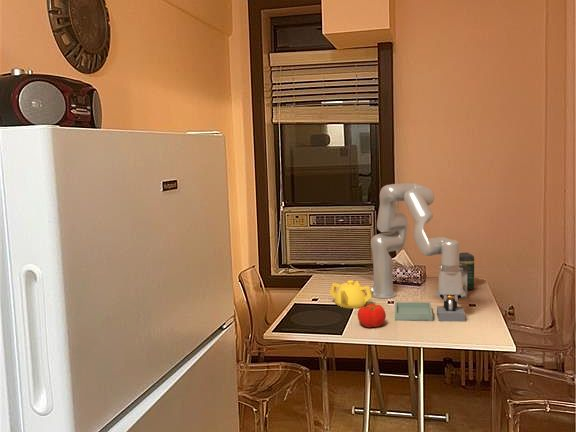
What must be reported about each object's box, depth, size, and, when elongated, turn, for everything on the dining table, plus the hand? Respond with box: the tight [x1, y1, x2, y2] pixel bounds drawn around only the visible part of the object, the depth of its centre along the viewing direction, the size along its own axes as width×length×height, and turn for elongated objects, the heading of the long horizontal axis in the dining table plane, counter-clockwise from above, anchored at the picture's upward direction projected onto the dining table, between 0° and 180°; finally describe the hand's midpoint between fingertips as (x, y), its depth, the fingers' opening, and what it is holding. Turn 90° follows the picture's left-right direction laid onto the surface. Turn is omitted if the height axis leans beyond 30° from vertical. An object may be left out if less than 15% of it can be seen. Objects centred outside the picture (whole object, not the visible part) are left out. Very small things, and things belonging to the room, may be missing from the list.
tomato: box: [357, 303, 387, 328], centre depth 258 cm, size 13×12×8 cm
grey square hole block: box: [436, 305, 466, 322], centre depth 265 cm, size 11×11×4 cm
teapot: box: [329, 279, 373, 309], centre depth 292 cm, size 17×17×12 cm
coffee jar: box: [459, 252, 475, 291], centre depth 314 cm, size 10×8×19 cm
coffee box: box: [457, 263, 468, 299], centre depth 299 cm, size 9×6×16 cm
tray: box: [394, 301, 434, 322], centre depth 272 cm, size 16×19×3 cm
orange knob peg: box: [446, 295, 455, 311], centre depth 265 cm, size 4×4×10 cm
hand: (450, 309), depth 265 cm, fingers closed on orange knob peg, 2 cm apart
